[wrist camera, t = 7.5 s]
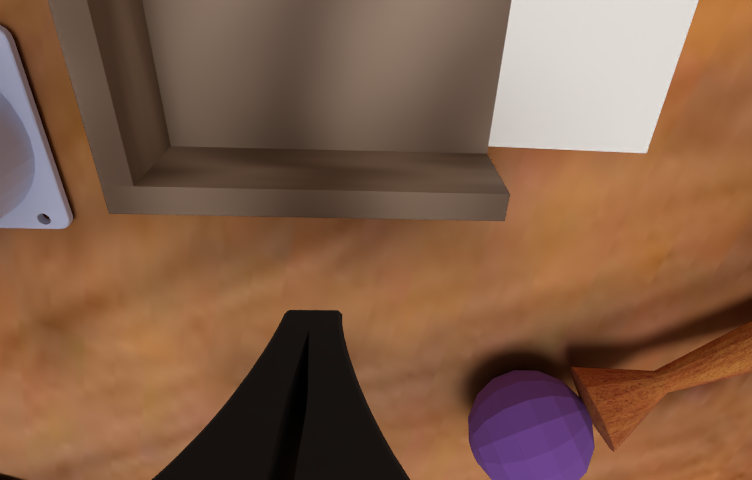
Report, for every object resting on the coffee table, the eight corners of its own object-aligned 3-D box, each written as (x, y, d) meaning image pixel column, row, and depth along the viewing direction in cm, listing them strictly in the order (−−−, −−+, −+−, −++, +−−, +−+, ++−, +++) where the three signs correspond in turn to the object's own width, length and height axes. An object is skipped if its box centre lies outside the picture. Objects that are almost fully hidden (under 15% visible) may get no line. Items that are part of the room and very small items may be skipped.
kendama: (927, 385, 22) (508, 530, 25) (814, 291, 26) (471, 422, 29) (979, 310, 18) (477, 491, 21) (837, 214, 23) (439, 374, 25)
